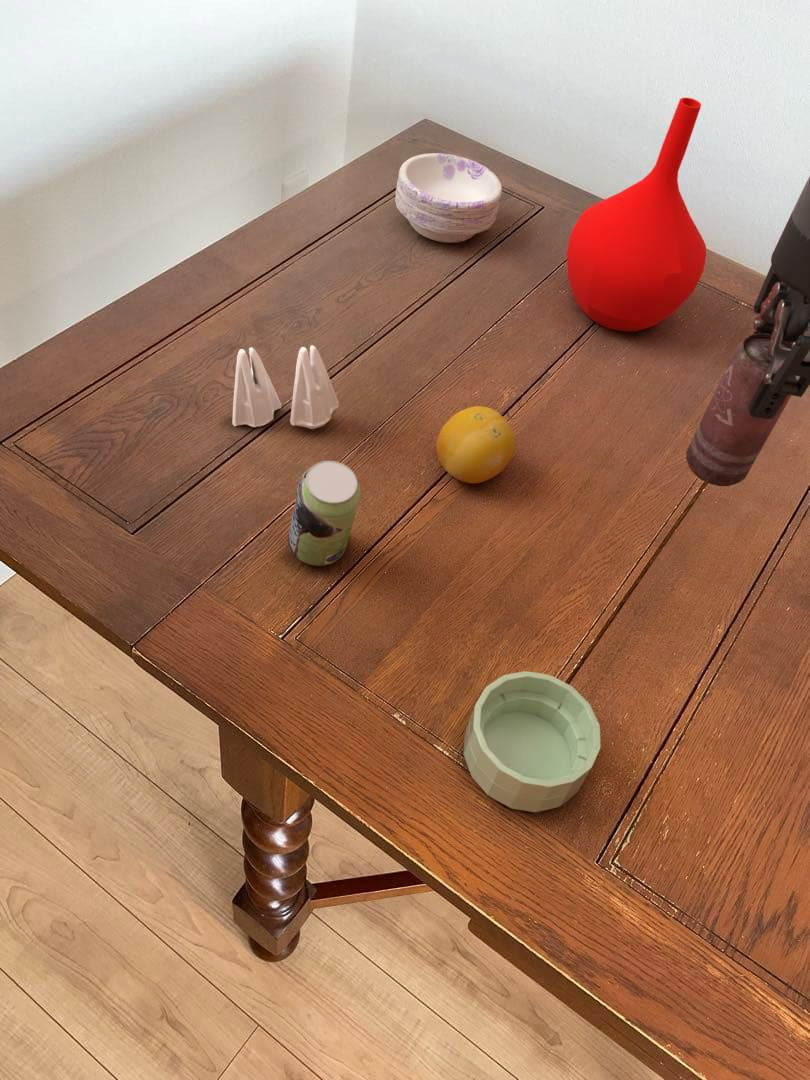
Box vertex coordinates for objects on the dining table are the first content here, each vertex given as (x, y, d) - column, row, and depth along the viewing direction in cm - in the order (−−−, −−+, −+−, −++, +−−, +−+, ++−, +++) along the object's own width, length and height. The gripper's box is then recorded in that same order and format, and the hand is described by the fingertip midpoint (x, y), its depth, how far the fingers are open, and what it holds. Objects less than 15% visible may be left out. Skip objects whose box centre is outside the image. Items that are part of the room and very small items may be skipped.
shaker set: (337, 414, 115) (346, 339, 107) (335, 438, 112) (344, 363, 104) (236, 402, 114) (236, 326, 106) (231, 426, 111) (231, 350, 103)
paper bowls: (485, 203, 151) (496, 155, 145) (497, 259, 142) (509, 210, 136) (389, 194, 149) (396, 145, 143) (394, 250, 139) (402, 200, 133)
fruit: (476, 508, 108) (490, 456, 102) (419, 471, 111) (430, 419, 105) (518, 468, 113) (534, 417, 107) (462, 434, 116) (475, 382, 110)
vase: (539, 326, 132) (602, 112, 110) (566, 259, 144) (628, 54, 122) (669, 367, 130) (760, 157, 108) (686, 295, 142) (771, 93, 120)
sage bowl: (581, 713, 92) (598, 682, 88) (584, 823, 85) (602, 795, 81) (466, 694, 92) (477, 662, 88) (458, 803, 84) (470, 774, 80)
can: (723, 499, 91) (786, 385, 81) (671, 460, 94) (725, 344, 84) (759, 473, 94) (824, 360, 84) (708, 436, 97) (765, 322, 87)
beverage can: (325, 518, 104) (334, 437, 95) (363, 564, 101) (377, 484, 92) (274, 540, 101) (279, 458, 92) (312, 588, 98) (321, 508, 89)
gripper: (910, 285, 70) (808, 452, 82) (870, 186, 79) (784, 349, 92) (808, 266, 70) (721, 437, 82) (780, 170, 79) (706, 335, 92)
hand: (755, 390), depth 87 cm, fingers closed on can, 6 cm apart
